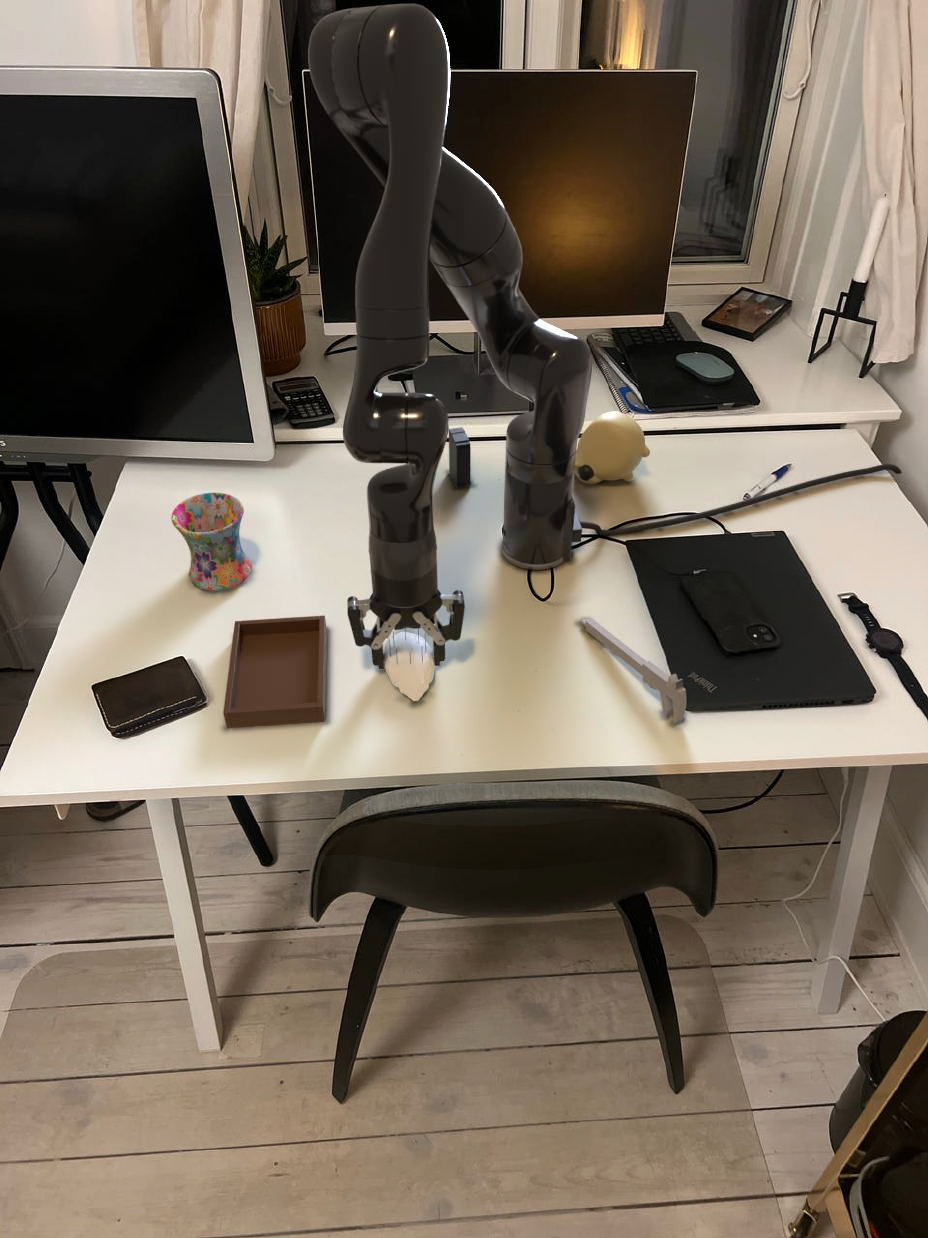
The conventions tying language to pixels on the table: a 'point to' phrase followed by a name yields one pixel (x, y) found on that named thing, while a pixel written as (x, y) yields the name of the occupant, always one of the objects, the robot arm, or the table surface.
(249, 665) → the tray
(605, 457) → the toy pig
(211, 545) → the mug
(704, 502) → the table surface
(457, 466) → the ink cartridge
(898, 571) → the table surface
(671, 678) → the caliper
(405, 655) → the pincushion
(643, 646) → the table surface
